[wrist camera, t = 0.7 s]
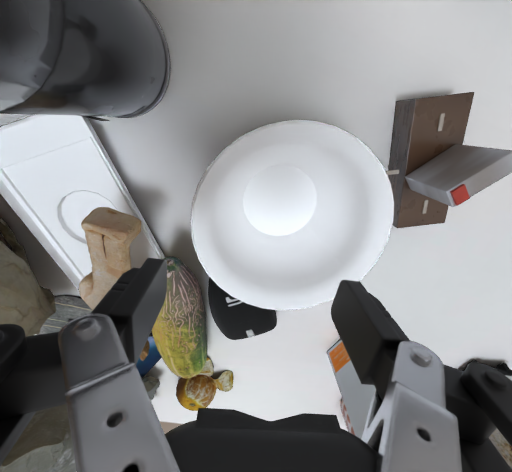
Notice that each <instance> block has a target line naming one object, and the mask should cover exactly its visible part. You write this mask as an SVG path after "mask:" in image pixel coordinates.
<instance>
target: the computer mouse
mask: <svg viewBox="0 0 512 472" xmlns="http://www.w3.org/2000/svg"><path fill="white" fill-rule="evenodd" d="M208 297H209V304H210V309H211V313H212V316H213V318H214V321H215V323H216V324H217V326H218V328H219V329H220V330H221V332H222V333H223V334H224V335H225V336H226V337H227V338H229V339H232V340H237V339H244V338H248V337H252V336H256V335H259V334H262V333H265V332H268V331H270V330H272V329H274V328H275V326H276V323H277V318H276V312H275V310H272V309H264V308H260V307H256V306H253V305H250V304H246V303H244V302H242V301H240V300H238V299H236V298H234V297H232V296H231V295H229V294H228V293H227V292H225V291H224V290H223V289H221V288H220V287H219V286H218V285H217V284H216V283H215V282H214V281H213V280H212V279H211V278H210V277H209V286H208Z"/></svg>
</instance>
